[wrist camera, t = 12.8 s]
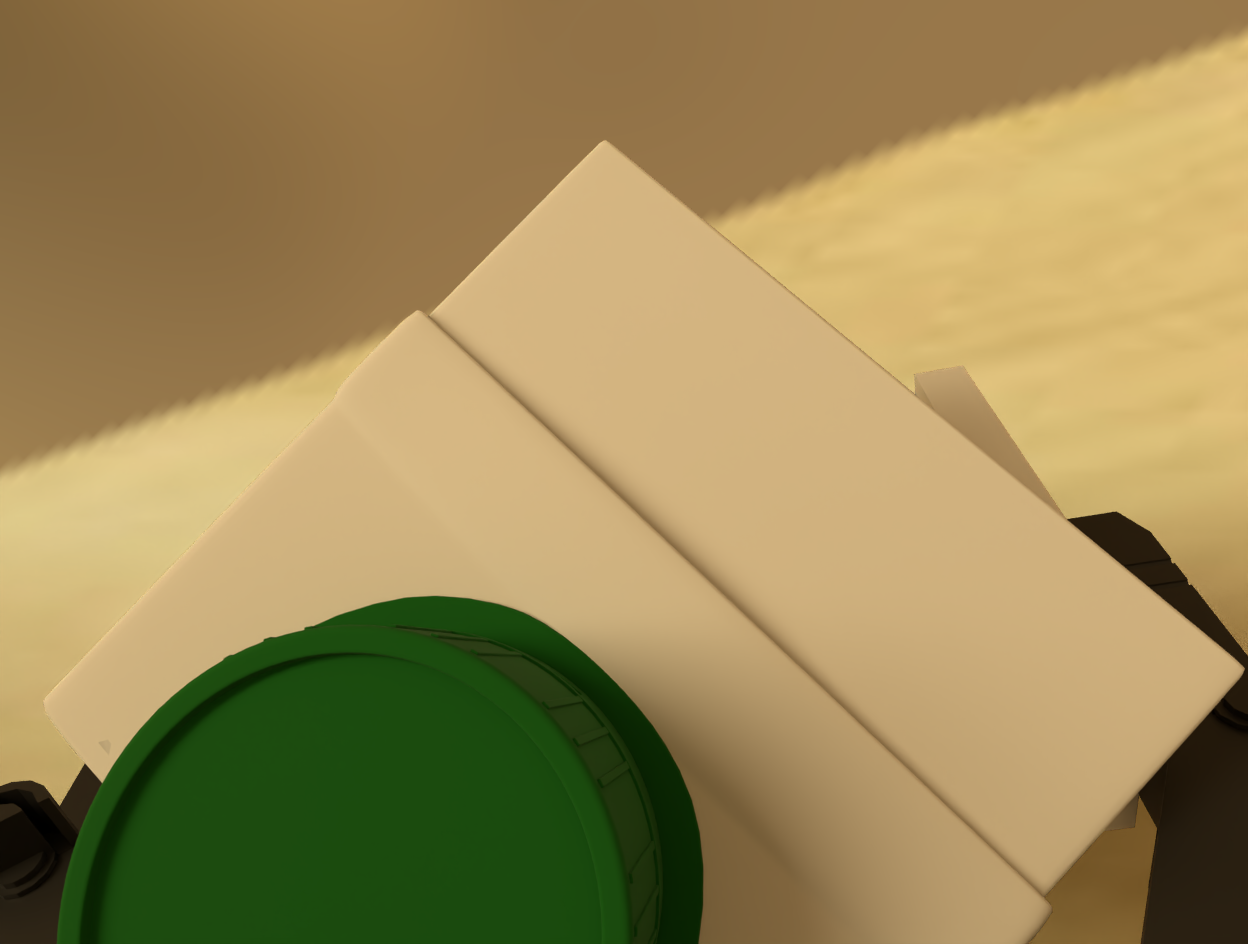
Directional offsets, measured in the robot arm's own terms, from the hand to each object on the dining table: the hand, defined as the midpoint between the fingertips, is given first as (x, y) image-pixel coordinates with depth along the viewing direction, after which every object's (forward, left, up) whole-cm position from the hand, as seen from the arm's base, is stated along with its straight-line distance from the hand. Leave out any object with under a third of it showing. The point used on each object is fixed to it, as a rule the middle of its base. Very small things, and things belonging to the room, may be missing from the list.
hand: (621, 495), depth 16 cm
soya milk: (+1, -3, -11) cm, 11 cm away
